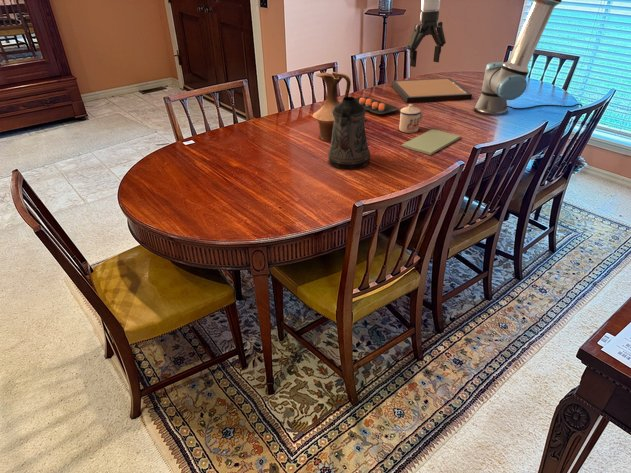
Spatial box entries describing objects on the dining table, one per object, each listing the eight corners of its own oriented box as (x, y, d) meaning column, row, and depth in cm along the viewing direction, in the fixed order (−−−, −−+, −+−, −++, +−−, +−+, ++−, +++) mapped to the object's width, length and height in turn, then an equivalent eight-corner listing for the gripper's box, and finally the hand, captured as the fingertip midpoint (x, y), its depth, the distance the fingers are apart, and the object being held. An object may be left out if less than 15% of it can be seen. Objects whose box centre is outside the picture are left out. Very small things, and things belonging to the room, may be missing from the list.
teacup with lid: (407, 134, 194) (410, 109, 187) (394, 129, 200) (396, 103, 194) (427, 129, 199) (430, 103, 192) (414, 123, 205) (416, 99, 199)
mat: (432, 131, 197) (432, 128, 196) (460, 138, 189) (460, 136, 188) (401, 146, 183) (401, 144, 182) (430, 155, 175) (430, 152, 174)
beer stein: (362, 151, 180) (364, 89, 166) (377, 170, 164) (381, 104, 150) (323, 155, 177) (322, 93, 163) (335, 175, 161) (335, 109, 147)
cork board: (391, 85, 261) (406, 103, 232) (392, 80, 260) (407, 97, 230) (449, 82, 263) (471, 99, 234) (449, 77, 262) (472, 94, 232)
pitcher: (356, 132, 198) (358, 68, 182) (346, 146, 184) (347, 78, 169) (320, 129, 203) (318, 66, 187) (307, 142, 189) (305, 76, 174)
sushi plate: (401, 112, 220) (402, 104, 218) (355, 125, 206) (355, 117, 204) (364, 99, 240) (364, 92, 238) (320, 110, 226) (320, 102, 224)
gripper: (445, 6, 188) (439, 58, 199) (400, 12, 177) (397, 66, 189) (458, 8, 182) (451, 61, 194) (413, 14, 172) (408, 70, 184)
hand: (424, 64), depth 192 cm, fingers open, 13 cm apart
